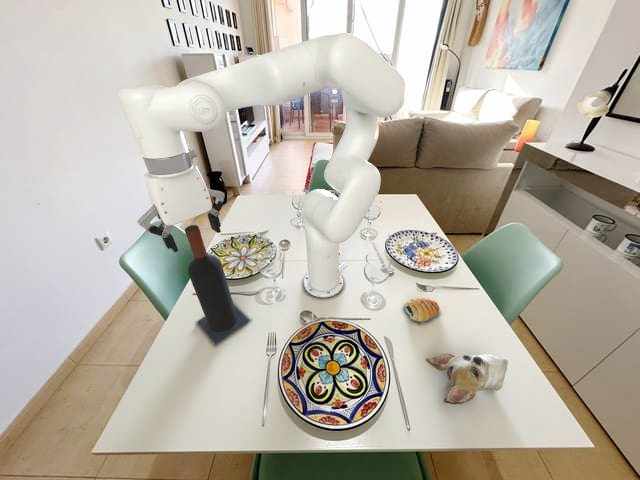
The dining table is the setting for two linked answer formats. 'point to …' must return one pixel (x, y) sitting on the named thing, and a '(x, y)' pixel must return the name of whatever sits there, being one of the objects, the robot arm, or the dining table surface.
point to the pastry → (421, 309)
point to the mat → (221, 335)
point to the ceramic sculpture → (470, 374)
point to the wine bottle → (210, 284)
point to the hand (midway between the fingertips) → (196, 239)
